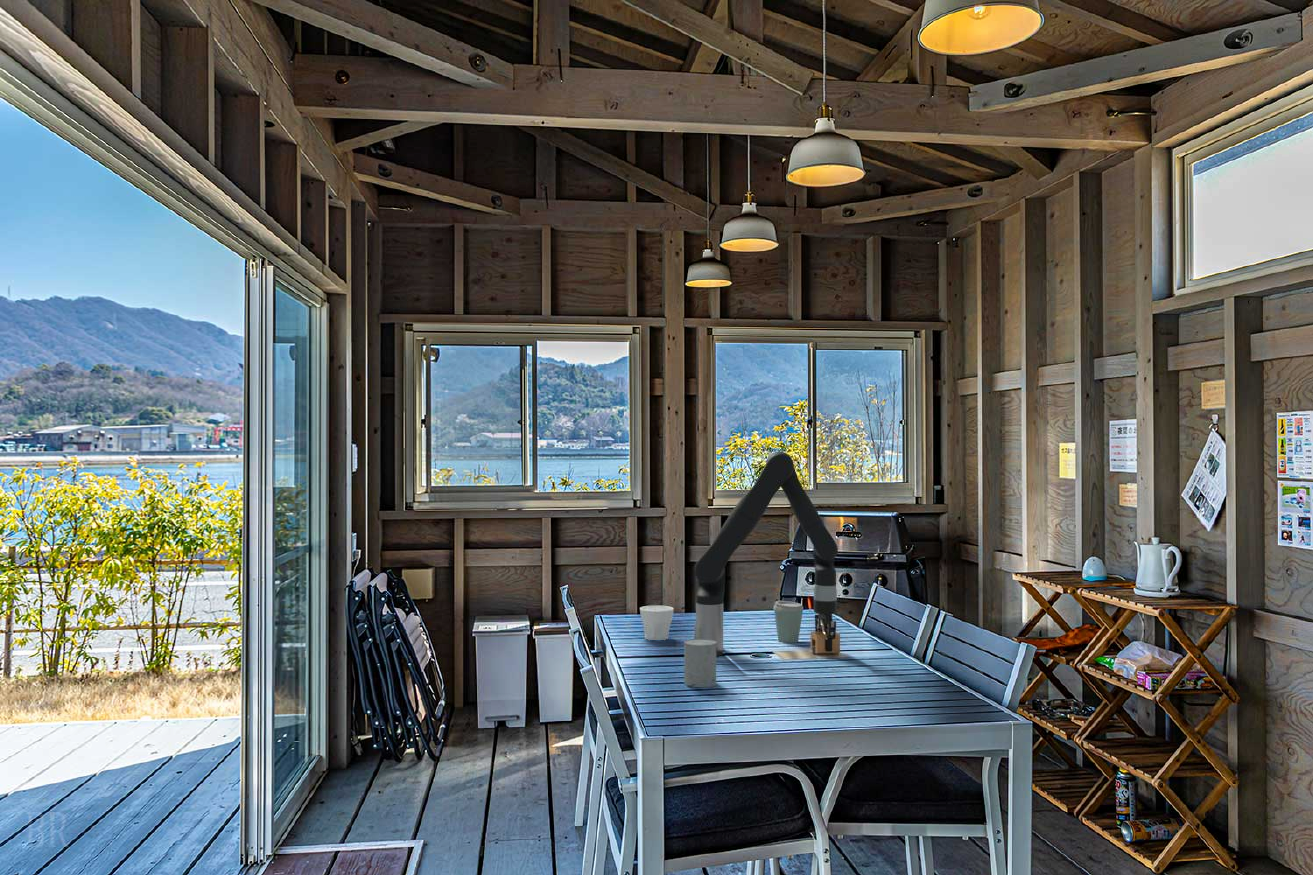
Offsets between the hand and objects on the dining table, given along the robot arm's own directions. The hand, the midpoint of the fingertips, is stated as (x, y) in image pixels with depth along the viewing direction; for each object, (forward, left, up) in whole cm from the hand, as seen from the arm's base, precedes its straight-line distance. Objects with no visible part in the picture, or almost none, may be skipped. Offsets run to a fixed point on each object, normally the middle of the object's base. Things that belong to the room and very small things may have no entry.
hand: (825, 648), depth 312 cm
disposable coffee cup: (-5, +22, -3) cm, 23 cm away
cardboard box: (0, 0, -1) cm, 1 cm away
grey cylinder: (-48, -26, -3) cm, 55 cm away
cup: (-49, +40, -3) cm, 64 cm away
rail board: (-5, 0, -3) cm, 6 cm away
